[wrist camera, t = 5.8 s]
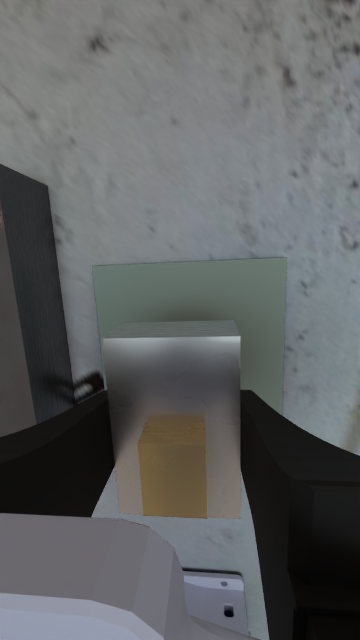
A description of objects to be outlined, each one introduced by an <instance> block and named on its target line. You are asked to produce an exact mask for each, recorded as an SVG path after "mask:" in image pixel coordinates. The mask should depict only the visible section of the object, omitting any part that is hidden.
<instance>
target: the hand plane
mask: <svg viewBox="0 0 360 640" xmlns="http://www.w3.org/2000/svg"><path fill="white" fill-rule="evenodd" d="M74 406H75V398H74V390H73V383H72V375H71V367H70V359H69V351H68V344H67V336H66V328H65V320H64V312H63V305H62V297H61V289H60V281H59V273H58V266H57V258H56V250H55V242H54V234H53V227H52V219H51V211H50V203H49V195H48V188H47V186H46V185H44V184H42V183H40V182H38V181H36V180H34V179H31V178H29V177H27V176H25V175H23V174H21V173H19V172H16V171H14V170H12V169H10V168H8V167H6V166H4V165H2V164H0V437H2V436H6V435H9V434H12V433H15V432H18V431H21V430H23V429H26V428H29V427H31V426H34V425H36V424H39V423H41V422H43V421H46V420H48V419H50V418H52V417H54V416H56V415H58V414H60V413H62V412H64V411H66V410H68V409H70V408H72V407H74Z"/></svg>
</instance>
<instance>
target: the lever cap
mask: <svg viewBox="0 0 360 640" xmlns="http://www.w3.org/2000/svg"><path fill="white" fill-rule="evenodd" d="M102 346H103V356H104V365H105V375H106V385H107V394H108V404H109V414H110V424H111V433H112V443H113V453H114V462H115V472H116V482H117V491H118V501H119V511H120V513H128V514H143V516H163V517H184V518H204V519H207V517H211V518H232V519H240V334H239V332H238V330H237V327H236V325H235V323H234V320H222V321H178V322H134V323H122V324H121V325H120V326H118V327H117V328H116V329H114V330H113V331H111V332H110V333H109V334H107V335H106V336H105V337H103V338H102Z"/></svg>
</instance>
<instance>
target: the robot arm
mask: <svg viewBox="0 0 360 640" xmlns="http://www.w3.org/2000/svg"><path fill="white" fill-rule="evenodd" d="M114 466H115V462H114V453H113V443H112V433H111V424H110V414H109V404H108V394H107V390H105V391H103V392H101V393H99V394H97V395H95V396H93V397H91V398H89V399H87V400H85V401H83V402H82V403H80V404H78V405H76V406H74V407H72V408H70V409H68V410H66V411H64V412H62V413H60V414H58V415H56V416H54V417H52V418H50V419H48V420H46V421H43V422H41V423H39V424H36V425H34V426H31V427H29V428H26V429H23V430H21V431H18V432H15V433H12V434H9V435H6V436H2V437H0V640H259V639H257V638H254V637H251V633H250V631H248V625H247V616H246V607H245V598H244V582H243V578H242V577H241V576H239V575H234V574H219V573H204V572H189V571H182V568H181V565H180V563H179V560H178V557H177V555H176V552H175V549H174V548H173V547H172V546H171V545H170V544H169V543H168V542H166V541H165V540H164V539H163V538H162V537H160V536H159V535H158V534H157V533H156V532H154V531H153V530H152V529H151V528H150V527H148V526H145V525H141V524H137V523H134V522H130V521H126V520H123V519H110V518H91V516H92V514H93V511H94V509H95V506H96V504H97V502H98V500H99V498H100V496H101V494H102V492H103V489H104V487H105V485H106V483H107V481H108V479H109V477H110V475H111V473H112V470H113V468H114ZM240 468H241V472H242V476H243V481H244V485H245V489H246V493H247V497H248V501H249V505H250V509H251V514H252V519H253V524H254V530H255V536H256V543H257V550H258V557H259V564H260V572H261V579H262V586H263V593H264V601H265V609H266V616H267V624H268V632H269V639H270V640H360V456H359V455H356V454H353V453H351V452H348V451H346V450H343V449H341V448H339V447H337V446H334V445H332V444H330V443H328V442H326V441H323V440H321V439H319V438H318V437H316V436H314V435H312V434H310V433H308V432H307V431H305V430H303V429H301V428H300V427H298V426H297V425H295V424H293V423H292V422H291V421H289V420H288V419H286V418H285V417H283V416H282V415H281V414H279V413H278V412H277V411H275V410H274V409H273V408H272V407H270V406H269V405H268V404H267V403H266V402H265V401H263V400H262V399H261V398H260V397H259V396H258V395H257V394H255V393H254V392H253V391H252V390H240Z"/></svg>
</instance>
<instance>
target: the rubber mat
mask: <svg viewBox="0 0 360 640" xmlns="http://www.w3.org/2000/svg"><path fill="white" fill-rule="evenodd" d="M92 272H93V281H94V291H95V300H96V310H97V320H98V329H99V339H100V348H101V358H102V368H103V377H104V387H105V390H107V385H106V375H105V365H104V356H103V346H102V338H103V337H105V336H106V335H107V334H109V333H110V332H111V331H113V330H114V329H116V328H117V327H118V326H120V325H121V324H122V323H134V322H178V321H222V320H234V323H235V325H236V327H237V330H238V332H239V334H240V390H252V391H253V392H254V393H255V394H257V395H258V396H259V397H260V398H261V399H262V400H263V401H265V402H266V403H267V404H268V405H269V406H270V407H272V408H273V409H274V410H275V411H277V412H278V413H279V414H281V415H282V406H283V374H284V343H285V312H286V281H287V257H285V258H263V259H240V260H218V261H195V262H173V263H150V264H128V265H105V266H92Z"/></svg>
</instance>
